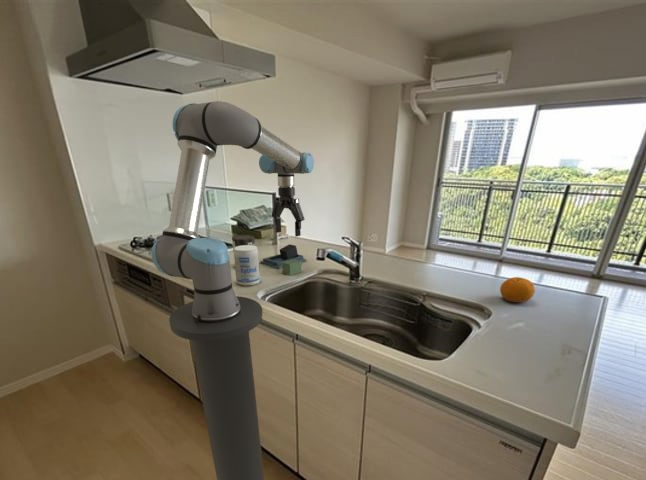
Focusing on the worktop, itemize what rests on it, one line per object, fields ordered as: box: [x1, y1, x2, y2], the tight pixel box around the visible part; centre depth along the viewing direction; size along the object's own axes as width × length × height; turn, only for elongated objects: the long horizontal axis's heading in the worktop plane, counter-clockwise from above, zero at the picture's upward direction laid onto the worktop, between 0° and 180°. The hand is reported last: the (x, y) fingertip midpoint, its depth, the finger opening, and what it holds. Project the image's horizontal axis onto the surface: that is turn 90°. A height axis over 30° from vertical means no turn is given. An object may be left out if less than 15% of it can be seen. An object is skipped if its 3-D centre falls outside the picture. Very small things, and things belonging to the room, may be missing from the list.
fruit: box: [499, 276, 536, 303], centre depth 118 cm, size 10×10×8 cm
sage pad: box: [281, 259, 302, 276], centre depth 151 cm, size 7×5×5 cm
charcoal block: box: [279, 243, 299, 260], centre depth 168 cm, size 7×5×5 cm
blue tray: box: [259, 253, 307, 270], centre depth 167 cm, size 18×14×2 cm
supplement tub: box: [233, 245, 261, 287], centre depth 137 cm, size 10×10×15 cm
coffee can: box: [231, 234, 256, 261], centre depth 158 cm, size 10×10×14 cm
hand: (288, 234), depth 161 cm, fingers open, 13 cm apart
